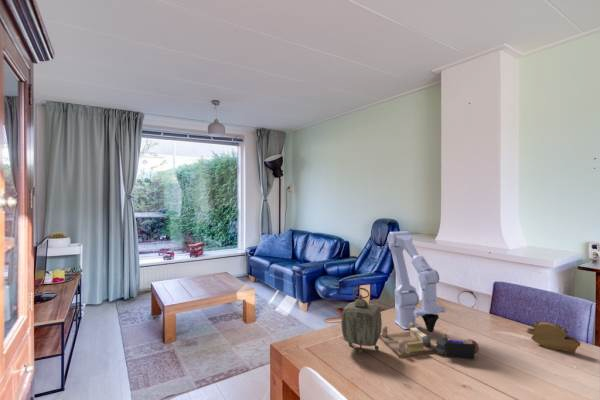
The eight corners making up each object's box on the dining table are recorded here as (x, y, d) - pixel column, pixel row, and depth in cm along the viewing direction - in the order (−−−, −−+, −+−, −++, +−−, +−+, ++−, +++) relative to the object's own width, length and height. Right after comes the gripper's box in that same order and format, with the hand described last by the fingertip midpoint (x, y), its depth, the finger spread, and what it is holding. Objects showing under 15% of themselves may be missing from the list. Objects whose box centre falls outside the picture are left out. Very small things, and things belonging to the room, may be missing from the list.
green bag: (382, 348, 126) (380, 286, 126) (377, 359, 118) (376, 293, 118) (347, 342, 132) (345, 283, 132) (340, 352, 124) (339, 289, 124)
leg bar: (432, 346, 124) (431, 338, 124) (425, 347, 124) (425, 339, 124) (415, 334, 135) (415, 326, 135) (409, 335, 135) (409, 327, 135)
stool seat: (378, 338, 136) (378, 325, 136) (414, 333, 139) (414, 321, 139) (399, 357, 119) (398, 343, 119) (439, 351, 122) (438, 338, 122)
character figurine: (434, 350, 125) (477, 356, 119) (435, 357, 118) (481, 364, 113) (434, 330, 125) (477, 335, 120) (435, 336, 118) (481, 342, 113)
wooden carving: (580, 352, 119) (580, 326, 119) (580, 357, 116) (579, 330, 116) (527, 340, 130) (526, 316, 130) (525, 344, 127) (525, 319, 127)
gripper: (421, 304, 126) (422, 338, 126) (450, 299, 130) (451, 332, 131) (409, 298, 133) (410, 331, 133) (438, 294, 137) (438, 326, 137)
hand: (430, 331), depth 132 cm, fingers closed
